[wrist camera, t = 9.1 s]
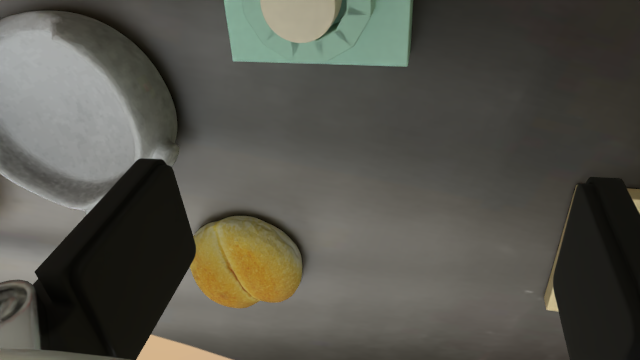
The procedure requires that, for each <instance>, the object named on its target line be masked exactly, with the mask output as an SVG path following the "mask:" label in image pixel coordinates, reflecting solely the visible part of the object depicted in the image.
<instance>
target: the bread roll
mask: <svg viewBox="0 0 640 360" xmlns="http://www.w3.org/2000/svg"><path fill="white" fill-rule="evenodd" d="M193 238H194V241H195V244H196V254H195V258H194V260H193V262H192V263H191V265H190V268H191V271H192V274H193V277H194V279H195V281H196V283H197V285H198V286H199V288H200V289H201V290H202V291H203V293H204V294H205V295H206V296H207V297H209V298H210V299H211V300H213V301H215V302H216V303H219V304H221V305H224V306H227V307H233V308H246V307H249V306H251V305H253V304H255V303H257V302H258V301H260V300H261V301H265V302H281V301H284V300H286V299H288V298H289V297H291V296H292V295H293V294H294V292H295V291H296V289H297V288H298V286H299V284H300V281H301V277H302V259H301V254H300V251H299V250H298V248H297V246H296V245H295V243H294V242H293V241H292V240H291V239H290V238H289V237H288V236H287V235H286V234H285V233H284V232H283V231H281V230H280V229H278V228H276V227H274V226H272V225H271V224H268V223H266V222H264V221H262V220H260V219H257V218H255V217H250V216H231V217H227V218H225V219H222V220H220V221H217V222H211V223H208V224H206V225H205V226H203V227H202V228H201V229H199V230H198V231H197V232H196V233H195V235H194V236H193Z"/></svg>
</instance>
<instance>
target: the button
mask: <svg viewBox="0 0 640 360" xmlns="http://www.w3.org/2000/svg"><path fill="white" fill-rule="evenodd" d="M341 4H342V0H260V5H261V10H262V13H263V16H264V19H265V21H266V22H267V24H268V25H269V27H270V28H271V29H272V30H273V31H274V32H275V33H276V34H277V35H278V36H280V37H281V38H283V39H285V40H288V41H290V42H295V43H307V42H311V41H314V40H316V39H318V38H320V37H321V36H323V35H324V34H325V33H326V32H327V30H328V29H329V28H330V26H331V25H332V23H333V22H334V20H335V19H336V17H337V16H338V14H339V11H340V8H341Z"/></svg>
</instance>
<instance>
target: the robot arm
mask: <svg viewBox="0 0 640 360" xmlns="http://www.w3.org/2000/svg"><path fill="white" fill-rule="evenodd" d="M195 254H196V244H195V241H194V238H193V234H192V231H191V228H190V224H189V221H188V218H187V214H186V211H185V208H184V205H183V201H182V198H181V195H180V191H179V188H178V185H177V181H176V178H175V175H174V171H173V169H172V167H171V166H169V165H167V164H166V162H165V161H164V160H162V159H147V158H141V159H138V160H137V161H136V162H135V163H134V164H133V165H132V166H131V167H130V168H129V169H128V170H127V172H126V173H125V174H124V175H123V176H122V177H121V178H120V179H119V180H118V181H117V182H116V184H115V185H114V186H113V187H112V188H111V189H110V190H109V191H108V192H107V193H106V194H105V196H104V197H103V198H102V199H101V200H100V201H99V202H98V203H97V204H96V205H95V206H94V208H93V209H92V210H91V211H90V212H89V213H88V214H87V215H86V216H85V217H84V218H83V220H82V221H81V222H80V223H79V224H78V225H77V226H76V227H75V228H74V229H73V230H72V232H71V233H70V234H69V235H68V236H67V237H66V238H65V239H64V240H63V241H62V242H61V244H60V245H59V246H58V247H57V248H56V249H55V250H54V251H53V252H52V253H51V254H50V256H49V257H48V258H47V259H46V260H45V261H44V262H43V263H42V264H41V265H40V266H39V268H38V269H37V270H36V271H35V273H36V275H37V277H38V280H37V281H36V282H35V283H34V284H33V285H32V284H31V283H29V282H28V281H23V280H9V281H5V282H2V283H0V360H136V359H137V357H138V355H139V354H140V352H141V350H142V348H143V346H144V345H145V343H146V341H147V340H148V338H149V336H150V335H151V333H152V331H153V329H154V328H155V326H156V324H157V322H158V321H159V319H160V317H161V315H162V314H163V312H164V310H165V308H166V307H167V305H168V303H169V302H170V300H171V298H172V296H173V295H174V293H175V291H176V289H177V288H178V286H179V284H180V282H181V281H182V279H183V277H184V275H185V274H186V272H187V270H188V269H189V267H190V265H191V263H192V262H193V260H194V258H195ZM553 289H554V294H555V298H556V302H557V307H558V311H559V315H560V319H561V324H562V328H563V332H564V336H565V340H566V345H567V349H568V353H569V357H570V360H640V214H639V212H638V210H637V208H636V206H635V204H634V202H633V200H632V198H631V196H630V194H629V192H628V190H627V188H626V186H625V184H624V182H623V181H622V179H620V178H600V177H590V178H589V179H588V180H587V182H586V184H578V185H577V187H576V190H575V194H574V198H573V202H572V206H571V210H570V213H569V217H568V221H567V225H566V229H565V232H564V236H563V240H562V244H561V248H560V252H559V255H558V259H557V263H556V267H555V271H554V275H553Z"/></svg>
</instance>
